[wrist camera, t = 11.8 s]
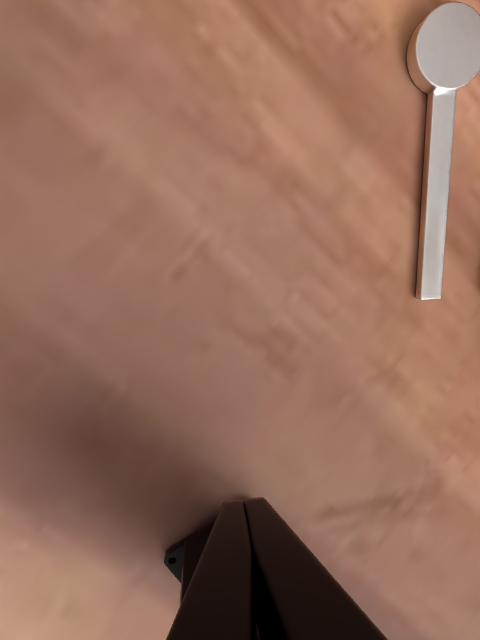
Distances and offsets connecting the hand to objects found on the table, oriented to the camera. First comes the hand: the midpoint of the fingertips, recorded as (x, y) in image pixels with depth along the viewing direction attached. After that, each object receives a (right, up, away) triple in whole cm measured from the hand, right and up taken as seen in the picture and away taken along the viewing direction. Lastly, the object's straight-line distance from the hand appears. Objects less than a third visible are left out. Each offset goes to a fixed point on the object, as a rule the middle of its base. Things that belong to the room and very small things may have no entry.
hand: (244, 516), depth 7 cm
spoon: (+10, +12, +11) cm, 19 cm away
